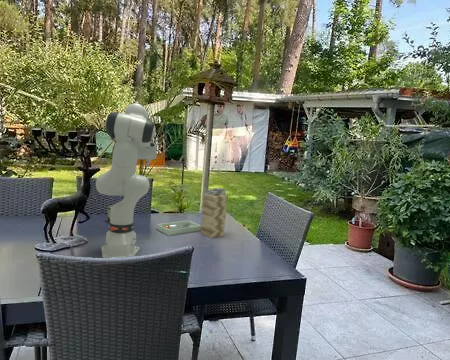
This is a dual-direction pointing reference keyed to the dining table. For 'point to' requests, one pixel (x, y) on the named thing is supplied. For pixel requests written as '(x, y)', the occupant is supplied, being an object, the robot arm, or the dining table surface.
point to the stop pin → (177, 226)
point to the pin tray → (177, 231)
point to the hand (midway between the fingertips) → (139, 166)
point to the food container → (109, 212)
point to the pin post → (214, 213)
